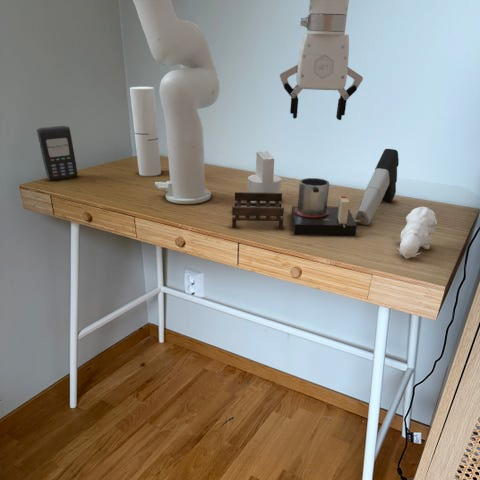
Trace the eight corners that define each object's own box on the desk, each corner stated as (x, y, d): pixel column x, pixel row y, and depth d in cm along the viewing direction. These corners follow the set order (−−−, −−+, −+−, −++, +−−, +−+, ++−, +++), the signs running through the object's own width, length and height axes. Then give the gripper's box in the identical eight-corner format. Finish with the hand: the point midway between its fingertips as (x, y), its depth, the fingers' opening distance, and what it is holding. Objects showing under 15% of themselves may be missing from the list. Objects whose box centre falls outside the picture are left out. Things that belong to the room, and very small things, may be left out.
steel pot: (298, 217, 108) (301, 187, 104) (296, 204, 116) (298, 176, 112) (328, 217, 108) (331, 187, 104) (323, 205, 115) (326, 176, 112)
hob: (294, 236, 105) (295, 225, 104) (291, 215, 117) (291, 205, 116) (361, 238, 105) (363, 227, 103) (351, 216, 117) (352, 206, 115)
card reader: (49, 182, 141) (38, 129, 133) (45, 179, 144) (34, 127, 136) (79, 177, 145) (70, 127, 137) (75, 174, 148) (66, 124, 140)
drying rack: (232, 227, 110) (232, 207, 107) (234, 211, 120) (234, 191, 117) (282, 228, 109) (283, 208, 106) (281, 212, 119) (282, 192, 117)
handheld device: (397, 192, 127) (399, 147, 115) (370, 252, 119) (369, 211, 107) (383, 189, 129) (384, 145, 117) (355, 249, 121) (353, 208, 108)
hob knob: (346, 223, 105) (349, 201, 102) (339, 223, 105) (342, 201, 102) (344, 217, 109) (346, 195, 106) (337, 217, 109) (339, 195, 106)
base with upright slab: (283, 204, 124) (286, 158, 118) (250, 206, 123) (251, 159, 117) (275, 194, 132) (277, 150, 125) (244, 195, 131) (245, 151, 124)
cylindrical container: (139, 170, 153) (130, 86, 140) (161, 170, 154) (154, 86, 141) (138, 176, 147) (128, 89, 134) (160, 175, 148) (153, 89, 135)
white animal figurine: (441, 206, 96) (428, 229, 88) (433, 243, 102) (419, 268, 93) (411, 201, 99) (395, 223, 91) (404, 237, 104) (388, 261, 96)
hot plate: (295, 217, 108) (295, 216, 108) (293, 206, 115) (293, 205, 115) (331, 218, 108) (331, 217, 108) (326, 206, 115) (327, 205, 115)
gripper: (283, 24, 89) (277, 119, 98) (373, 27, 89) (359, 122, 98) (282, 24, 95) (276, 114, 105) (366, 27, 95) (353, 116, 104)
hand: (316, 118), depth 101 cm, fingers open, 9 cm apart
